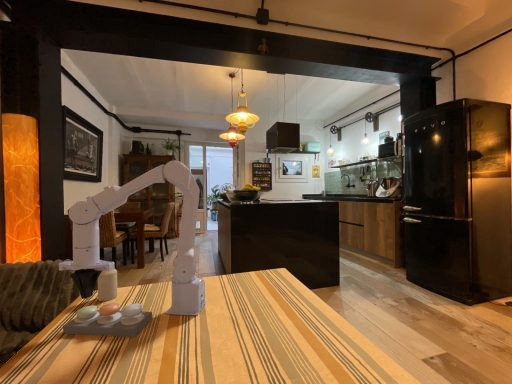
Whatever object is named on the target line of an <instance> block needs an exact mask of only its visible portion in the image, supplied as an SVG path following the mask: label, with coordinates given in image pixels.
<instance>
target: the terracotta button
mask: <svg viewBox="0 0 512 384" xmlns="http://www.w3.org/2000/svg"><path fill="white" fill-rule="evenodd" d="M99 310H100V316H110V315H113V314H115V313H117V312H118V311H120V303H118V302H109V303H106V304H104V305H101V306H100V307H99Z"/></svg>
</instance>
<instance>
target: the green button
mask: <svg viewBox="0 0 512 384" xmlns="http://www.w3.org/2000/svg"><path fill="white" fill-rule="evenodd" d="M97 310H98V306H97V305H86V306H84V307H80V308H79V309H77V311H76V317H77V319H86V318H90V317H92V316H94V315H96V314H97Z"/></svg>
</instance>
